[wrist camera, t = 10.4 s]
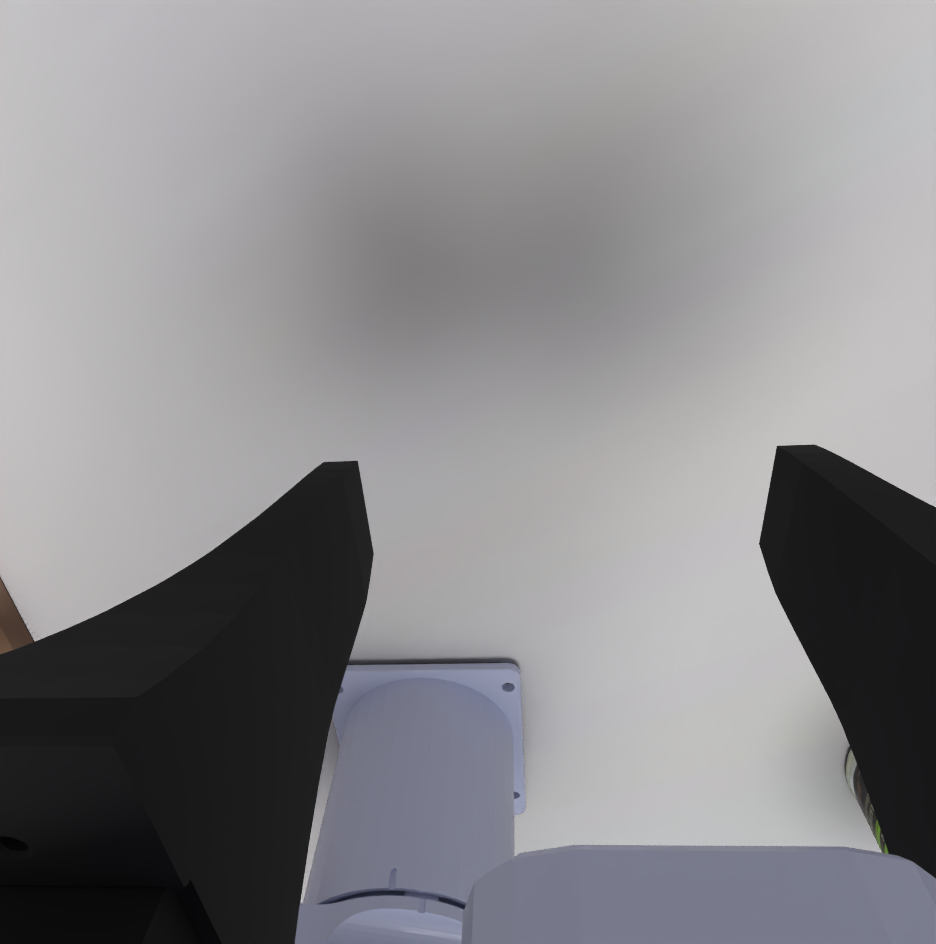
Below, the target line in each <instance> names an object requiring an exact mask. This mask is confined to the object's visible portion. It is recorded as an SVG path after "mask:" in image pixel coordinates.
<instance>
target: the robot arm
mask: <svg viewBox="0 0 936 944" xmlns="http://www.w3.org/2000/svg"><path fill="white" fill-rule="evenodd" d="M759 545H760V548H761V551H762V554H763V557H764V561H765V564H766V567H767V570H768V573H769V576H770V579H771V581H772V584H773V587H774V590H775V593H776V595H777V597H778V599H779V601H780V603H781V605H782V607H783V609H784V611H785V613H786V615H787V617H788V619H789V621H790V623H791V625H792V627H793V629H794V631H795V633H796V635H797V637H798V638H799V640H800V642H801V644H802V646H803V648H804V650H805V652H806V654H807V656H808V658H809V660H810V662H811V664H812V665H813V667H814V669H815V671H816V673H817V675H818V677H819V679H820V681H821V683H822V685H823V687H824V689H825V691H826V692H827V694H828V696H829V698H830V700H831V702H832V704H833V707H834V709H835V711H836V713H837V715H838V717H839V720H840V722H841V724H842V726H843V729H844V731H845V734H846V736H847V739H848V742H849V744H850V747H851V750H852V752H853V755H854V757H855V760H856V763H857V765H858V768H859V770H860V773H861V776H862V778H863V781H864V784H865V786H866V789H867V792H868V795H869V798H870V801H871V804H872V806H873V809H874V812H875V815H876V818H877V821H878V823H879V826H880V829H881V832H882V835H883V838H884V841H885V843H886V846H887V850H888V853H889V854H885V853H879V852H873V851H867V850H861V849H855V848H849V847H808V846H646V845H571V846H565V847H558V848H551V849H544V850H538V851H531V852H524V853H520V854H518V855H517V856H515V857H514V815H517V814H521V813H523V812H524V811H525V809H526V801H525V777H524V752H523V728H522V704H521V679H520V670H519V668H518V667H517V666H516V665H514V664H511V663H476V664H401V665H347V664H348V661H349V658H350V655H351V651H352V648H353V645H354V642H355V638H356V635H357V632H358V628H359V625H360V621H361V618H362V615H363V611H364V608H365V604H366V600H367V594H368V588H369V582H370V576H371V568H372V561H373V554H374V553H373V547H372V542H371V536H370V530H369V524H368V518H367V513H366V507H365V501H364V495H363V489H362V483H361V478H360V472H359V466H358V461H343V462H324V463H322V464H321V465H319V466H318V467H317V468H315V469H314V470H313V471H312V472H310V473H309V474H308V475H307V476H306V477H304V478H303V479H302V480H301V481H300V482H298V483H297V484H296V485H295V486H294V487H293V488H291V489H290V490H289V491H288V492H287V493H286V494H284V495H283V496H282V497H281V498H280V499H278V500H277V501H276V502H275V503H273V504H272V505H271V506H270V507H269V508H267V509H266V510H265V511H264V512H263V513H261V514H260V515H259V516H258V517H257V518H255V519H254V520H253V521H251V522H250V523H249V524H247V525H246V526H245V527H243V528H242V529H241V530H239V531H238V532H237V533H235V534H234V535H233V536H231V537H230V538H229V539H227V540H226V541H225V542H223V543H222V544H221V545H219V546H218V547H217V548H215V549H214V550H212V551H211V552H209V553H208V554H206V555H205V556H203V557H202V558H200V559H199V560H197V561H196V562H194V563H193V564H191V565H189V566H188V567H186V568H184V569H183V570H181V571H179V572H178V573H176V574H175V575H173V576H171V577H170V578H168V579H166V580H165V581H163V582H161V583H159V584H158V585H156V586H154V587H152V588H150V589H148V590H146V591H144V592H142V593H140V594H138V595H136V596H134V597H132V598H131V599H129V600H127V601H125V602H123V603H121V604H119V605H117V606H115V607H113V608H111V609H109V610H107V611H105V612H103V613H101V614H99V615H97V616H95V617H92V618H90V619H88V620H86V621H83V622H81V623H79V624H77V625H74V626H72V627H70V628H67V629H65V630H63V631H60V632H58V633H55V634H53V635H50V636H48V637H46V638H43V639H41V640H38V641H36V642H33V643H30V644H28V645H25V646H23V647H20V648H17V649H14V650H12V651H9V652H6V653H3V654H0V944H936V507H934V506H932V505H930V504H928V503H926V502H924V501H922V500H920V499H918V498H916V497H914V496H913V495H911V494H909V493H907V492H905V491H903V490H901V489H899V488H898V487H896V486H894V485H892V484H890V483H888V482H887V481H885V480H883V479H881V478H879V477H877V476H876V475H874V474H872V473H870V472H868V471H866V470H865V469H863V468H861V467H859V466H857V465H855V464H854V463H852V462H850V461H848V460H846V459H844V458H842V457H840V456H838V455H836V454H834V453H832V452H830V451H828V450H826V449H824V448H821V447H819V446H817V445H791V446H777V449H776V455H775V460H774V466H773V471H772V477H771V482H770V488H769V493H768V499H767V504H766V510H765V515H764V521H763V526H762V532H761V537H760V543H759ZM505 683H512V684H505ZM332 717H333V721H334V725H335V729H336V733H337V737H338V742H339V746H340V750H339V754H338V758H337V763H336V767H335V771H334V775H333V779H332V783H331V788H330V792H329V796H328V800H327V804H326V809H325V813H324V817H323V821H322V825H321V829H320V834H319V838H318V842H317V846H316V850H315V854H314V859H313V863H312V867H311V871H310V875H309V880H308V884H307V888H306V892H305V896H304V900H303V904H302V903H300V900H301V893H302V886H303V879H304V873H305V866H306V859H307V852H308V845H309V839H310V833H311V827H312V821H313V815H314V809H315V803H316V797H317V791H318V785H319V780H320V774H321V769H322V764H323V758H324V753H325V748H326V742H327V737H328V732H329V727H330V723H331V719H332Z"/></svg>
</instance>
